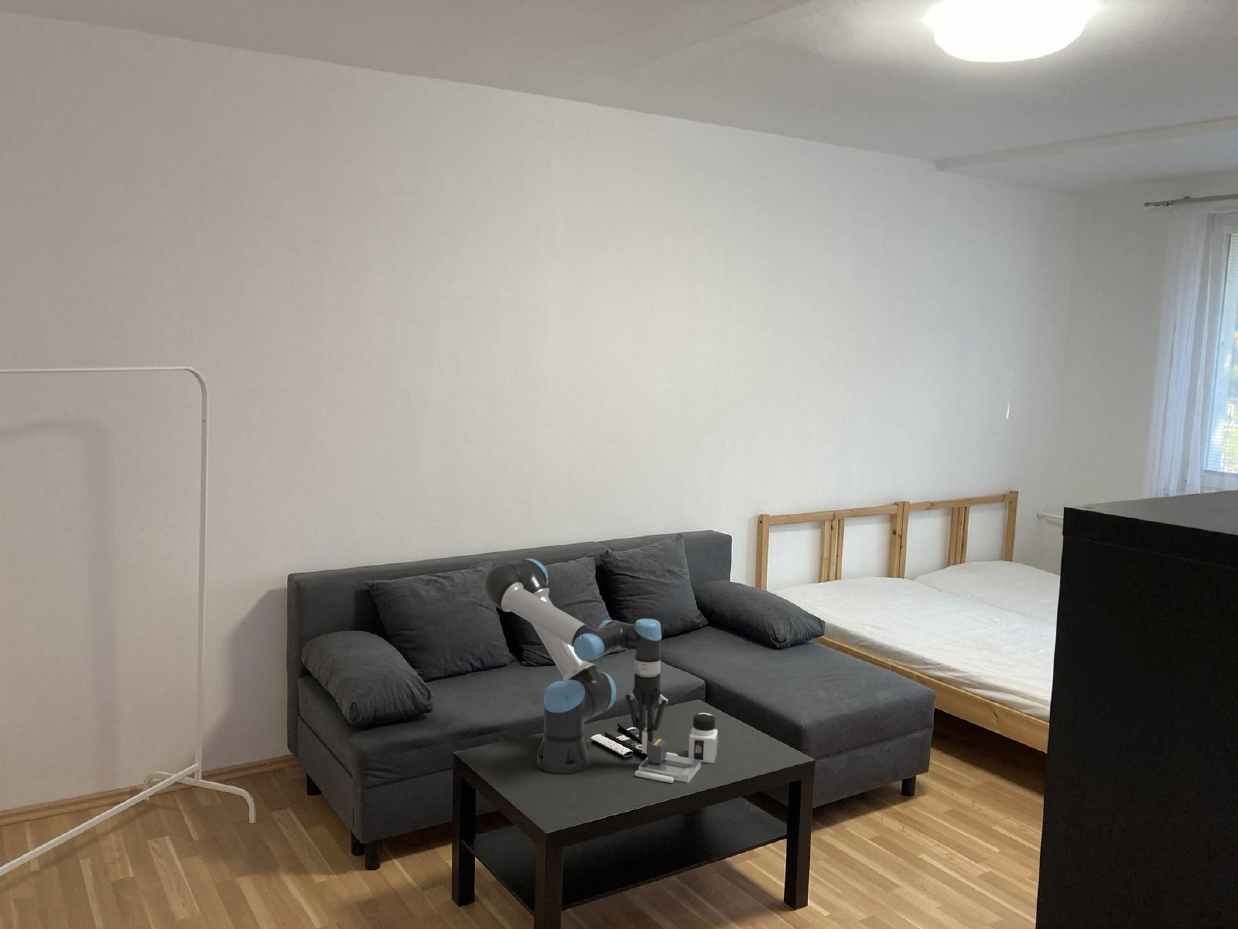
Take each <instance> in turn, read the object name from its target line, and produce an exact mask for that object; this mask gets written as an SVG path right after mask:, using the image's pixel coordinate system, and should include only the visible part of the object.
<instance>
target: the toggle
mask: <svg viewBox="0 0 1238 929" xmlns="http://www.w3.org/2000/svg"><path fill="white" fill-rule="evenodd" d="M667 745H668V740H666V739H662V738H654V737H653V740H652V741H651V742H650V743H649V744H648V754H647V757H648V761H651V762H656V763H662V761H663V760H664V759H665V758H666V755H667V749H668V746H667Z"/></svg>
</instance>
